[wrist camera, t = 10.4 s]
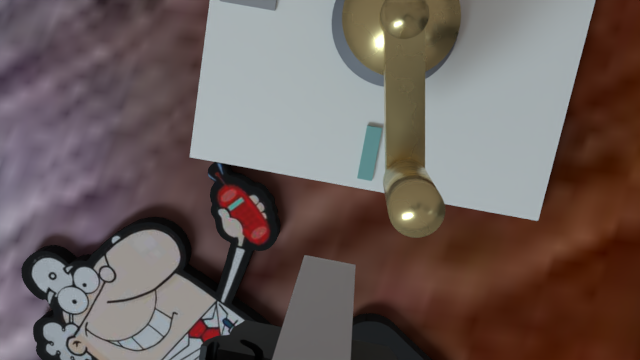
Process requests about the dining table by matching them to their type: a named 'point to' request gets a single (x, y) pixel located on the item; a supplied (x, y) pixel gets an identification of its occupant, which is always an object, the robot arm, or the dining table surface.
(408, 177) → the brass lever knob
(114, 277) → the sign
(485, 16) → the post board
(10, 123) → the dining table surface
